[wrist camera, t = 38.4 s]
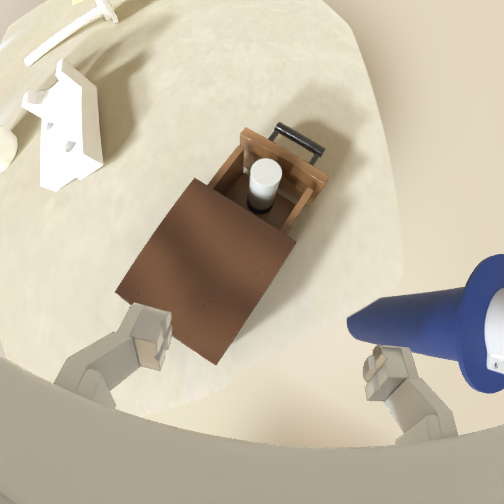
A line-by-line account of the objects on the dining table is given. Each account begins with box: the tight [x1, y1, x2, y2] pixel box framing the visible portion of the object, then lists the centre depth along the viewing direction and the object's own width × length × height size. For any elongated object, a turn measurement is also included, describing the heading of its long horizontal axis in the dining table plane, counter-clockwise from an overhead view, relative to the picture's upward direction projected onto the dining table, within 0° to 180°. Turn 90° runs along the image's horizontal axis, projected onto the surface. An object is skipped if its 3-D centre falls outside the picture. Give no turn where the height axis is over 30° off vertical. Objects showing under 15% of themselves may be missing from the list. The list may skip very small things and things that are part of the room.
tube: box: [247, 158, 282, 214], centre depth 34 cm, size 3×3×9 cm
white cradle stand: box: [22, 59, 104, 191], centre depth 36 cm, size 18×10×10 cm, turn 19°
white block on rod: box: [24, 0, 119, 67], centre depth 44 cm, size 9×9×32 cm
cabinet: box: [115, 178, 296, 365], centre depth 34 cm, size 15×13×10 cm
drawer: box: [207, 122, 329, 235], centre depth 36 cm, size 18×11×8 cm, turn 147°
